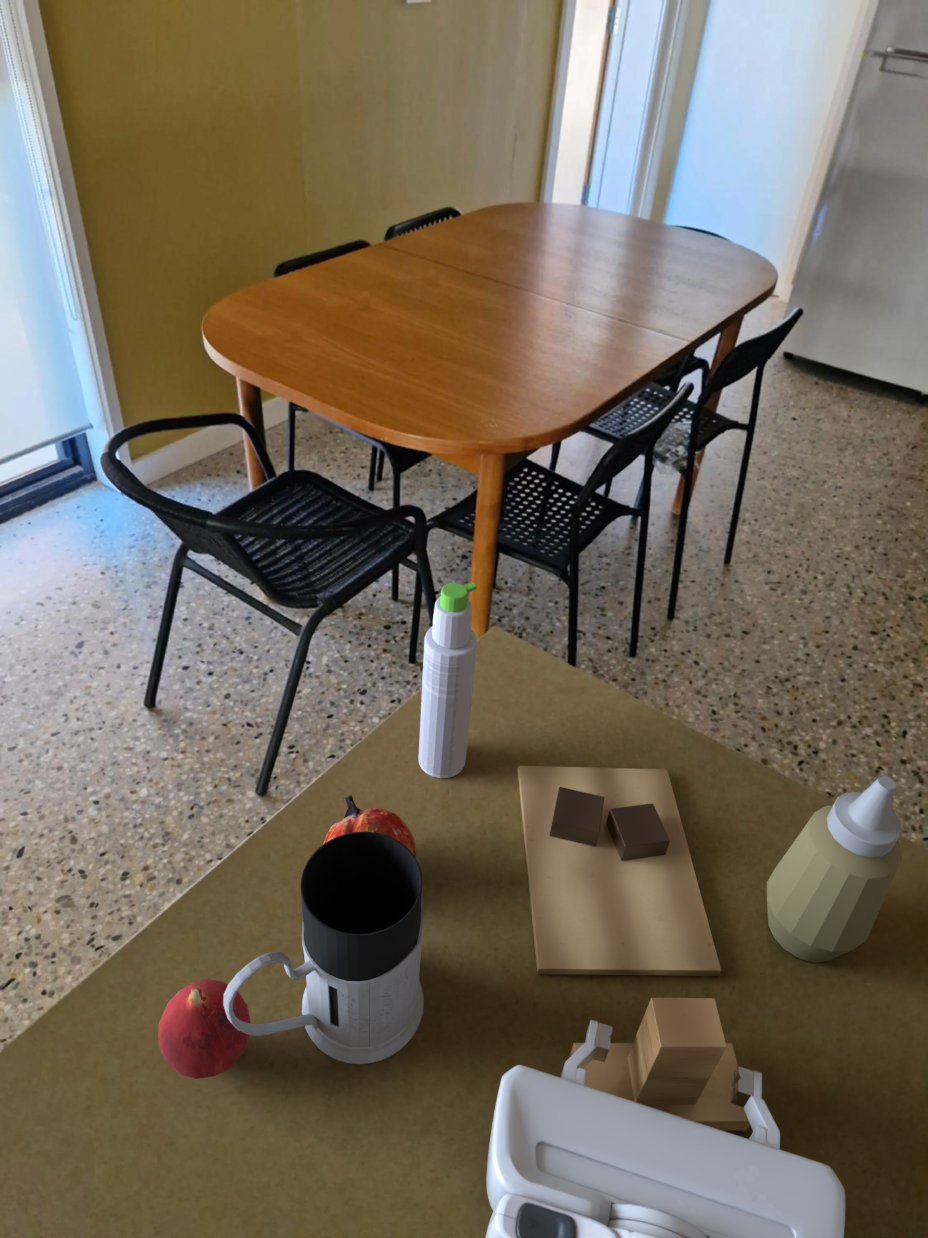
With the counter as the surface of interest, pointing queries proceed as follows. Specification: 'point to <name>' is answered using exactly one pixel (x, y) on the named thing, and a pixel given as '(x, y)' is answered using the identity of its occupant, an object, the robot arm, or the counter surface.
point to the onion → (202, 1030)
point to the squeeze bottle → (836, 875)
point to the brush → (675, 1065)
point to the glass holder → (354, 950)
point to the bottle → (447, 683)
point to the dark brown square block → (637, 832)
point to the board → (611, 883)
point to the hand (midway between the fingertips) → (672, 1049)
